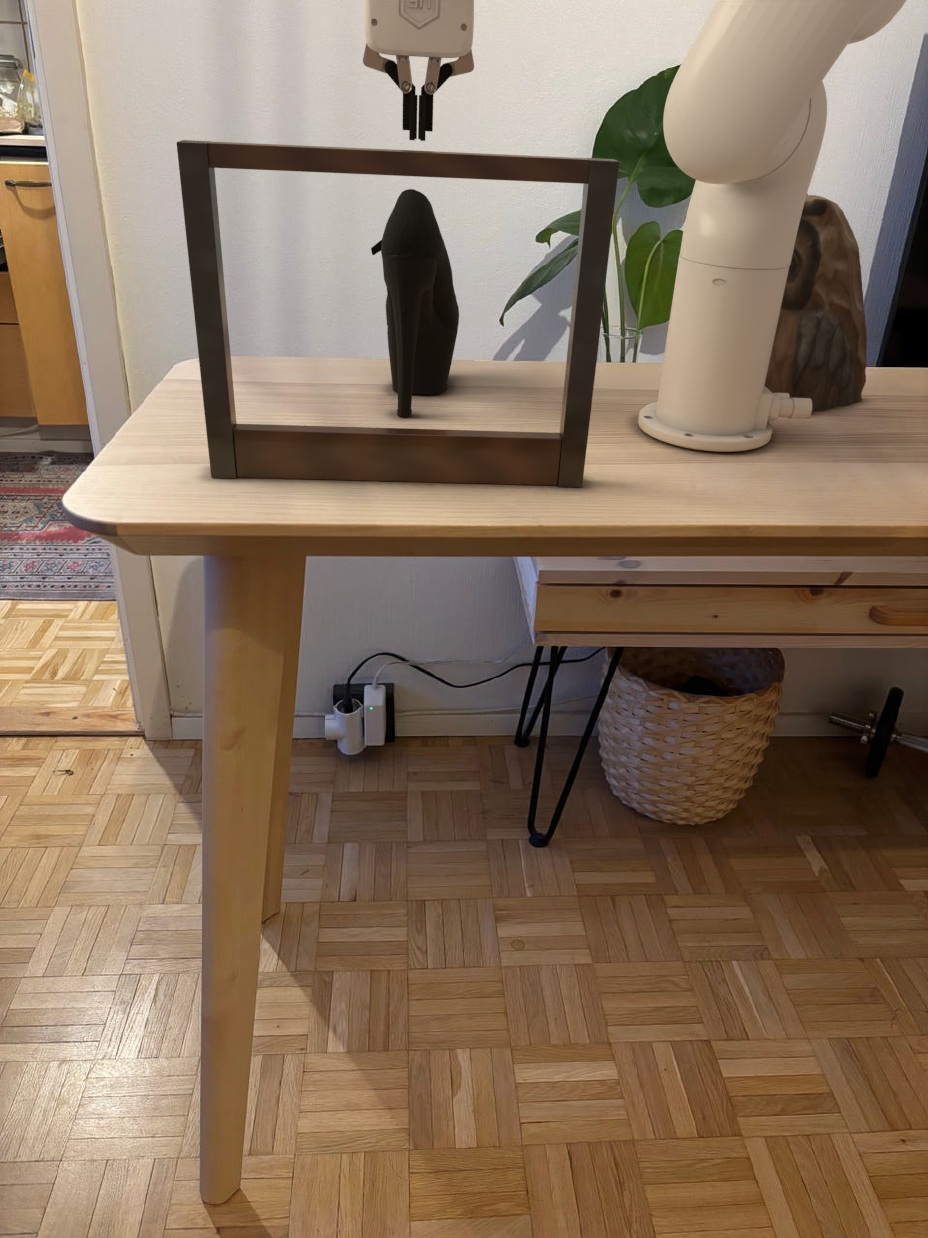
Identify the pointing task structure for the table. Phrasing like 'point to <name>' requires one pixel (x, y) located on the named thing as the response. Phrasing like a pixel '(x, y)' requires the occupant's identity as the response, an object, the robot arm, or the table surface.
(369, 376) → the table surface
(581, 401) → the wooden picture frame
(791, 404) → the robot arm
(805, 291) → the owl
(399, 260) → the high-heeled shoe
